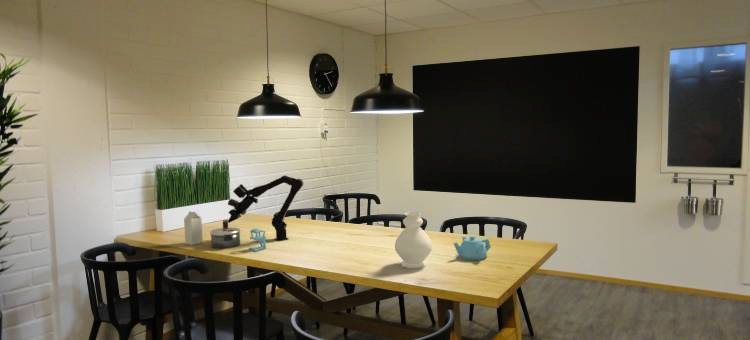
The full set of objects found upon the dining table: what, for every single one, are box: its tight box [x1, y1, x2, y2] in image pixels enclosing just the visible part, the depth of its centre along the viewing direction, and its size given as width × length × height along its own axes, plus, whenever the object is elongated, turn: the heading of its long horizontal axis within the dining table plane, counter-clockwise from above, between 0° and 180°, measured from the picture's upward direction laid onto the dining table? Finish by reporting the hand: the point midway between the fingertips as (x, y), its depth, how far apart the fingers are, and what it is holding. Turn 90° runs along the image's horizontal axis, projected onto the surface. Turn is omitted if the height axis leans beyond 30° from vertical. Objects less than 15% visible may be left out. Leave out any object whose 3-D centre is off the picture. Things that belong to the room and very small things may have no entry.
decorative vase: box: [394, 211, 433, 269], centre depth 253 cm, size 18×18×25 cm
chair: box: [248, 228, 267, 253], centre depth 293 cm, size 8×8×12 cm
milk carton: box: [183, 211, 204, 246], centre depth 313 cm, size 7×7×19 cm
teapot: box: [453, 235, 491, 261], centre depth 264 cm, size 15×15×11 cm
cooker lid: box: [209, 219, 241, 236], centre depth 309 cm, size 23×17×5 cm
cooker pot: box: [210, 232, 241, 250], centre depth 308 cm, size 26×16×7 cm, turn 24°
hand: (228, 222), depth 318 cm, fingers closed
